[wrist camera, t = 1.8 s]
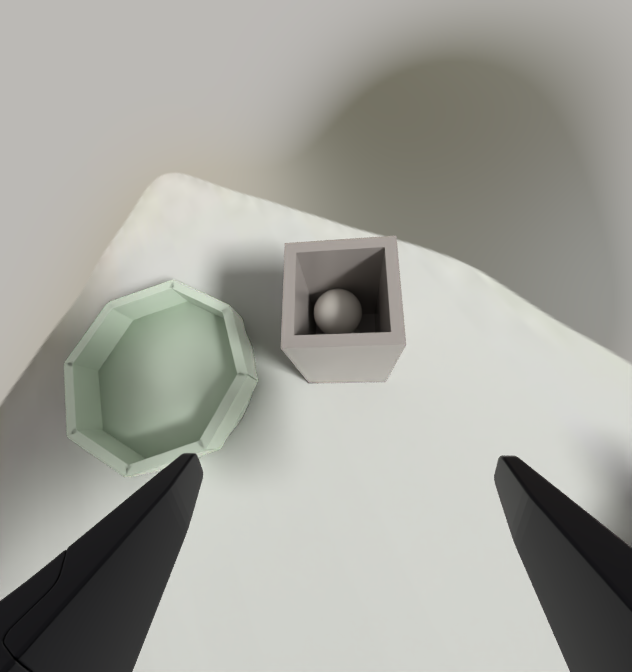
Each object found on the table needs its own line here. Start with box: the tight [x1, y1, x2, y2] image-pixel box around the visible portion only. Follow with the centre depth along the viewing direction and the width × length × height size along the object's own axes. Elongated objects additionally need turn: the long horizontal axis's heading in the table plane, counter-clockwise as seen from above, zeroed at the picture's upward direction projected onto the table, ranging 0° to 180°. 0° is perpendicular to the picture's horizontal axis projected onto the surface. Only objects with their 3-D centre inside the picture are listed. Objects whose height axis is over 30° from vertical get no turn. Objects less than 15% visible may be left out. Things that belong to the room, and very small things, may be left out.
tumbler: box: [281, 236, 406, 383], centre depth 19 cm, size 6×6×10 cm
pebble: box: [314, 288, 362, 334], centre depth 20 cm, size 3×3×3 cm
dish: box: [64, 280, 258, 477], centre depth 23 cm, size 13×13×3 cm
